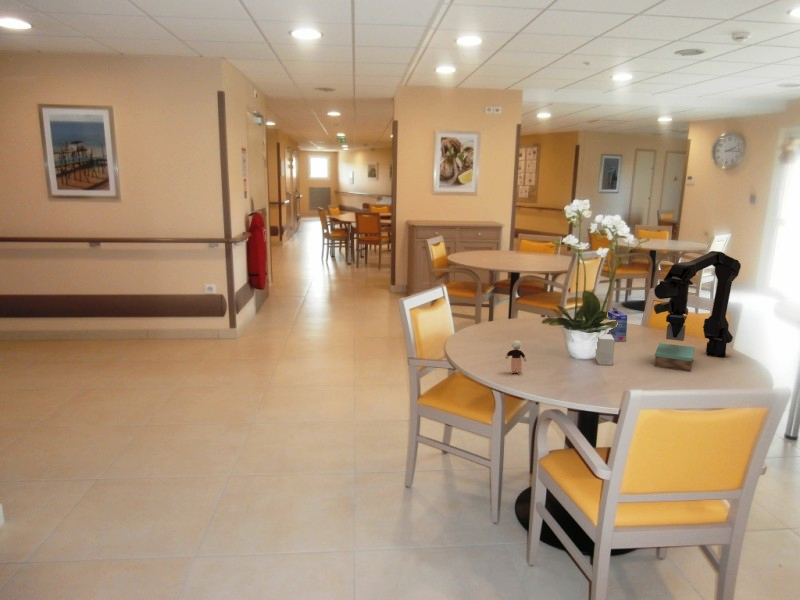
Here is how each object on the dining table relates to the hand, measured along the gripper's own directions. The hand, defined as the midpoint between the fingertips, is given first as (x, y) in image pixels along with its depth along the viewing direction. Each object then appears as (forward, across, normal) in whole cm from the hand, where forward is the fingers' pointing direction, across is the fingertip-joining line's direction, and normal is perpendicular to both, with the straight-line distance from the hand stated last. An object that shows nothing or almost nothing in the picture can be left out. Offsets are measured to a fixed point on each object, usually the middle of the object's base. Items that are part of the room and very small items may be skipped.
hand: (675, 335), depth 206 cm
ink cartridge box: (+11, -25, -26) cm, 37 cm away
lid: (+7, 0, 0) cm, 7 cm away
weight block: (+1, 0, 0) cm, 1 cm away
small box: (+11, +12, -24) cm, 29 cm away
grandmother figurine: (+11, +43, -49) cm, 66 cm away
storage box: (+11, 0, 0) cm, 11 cm away
